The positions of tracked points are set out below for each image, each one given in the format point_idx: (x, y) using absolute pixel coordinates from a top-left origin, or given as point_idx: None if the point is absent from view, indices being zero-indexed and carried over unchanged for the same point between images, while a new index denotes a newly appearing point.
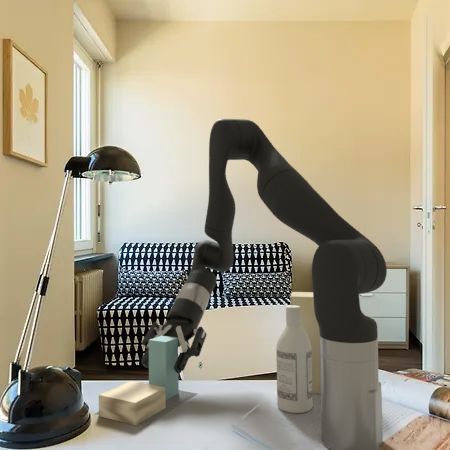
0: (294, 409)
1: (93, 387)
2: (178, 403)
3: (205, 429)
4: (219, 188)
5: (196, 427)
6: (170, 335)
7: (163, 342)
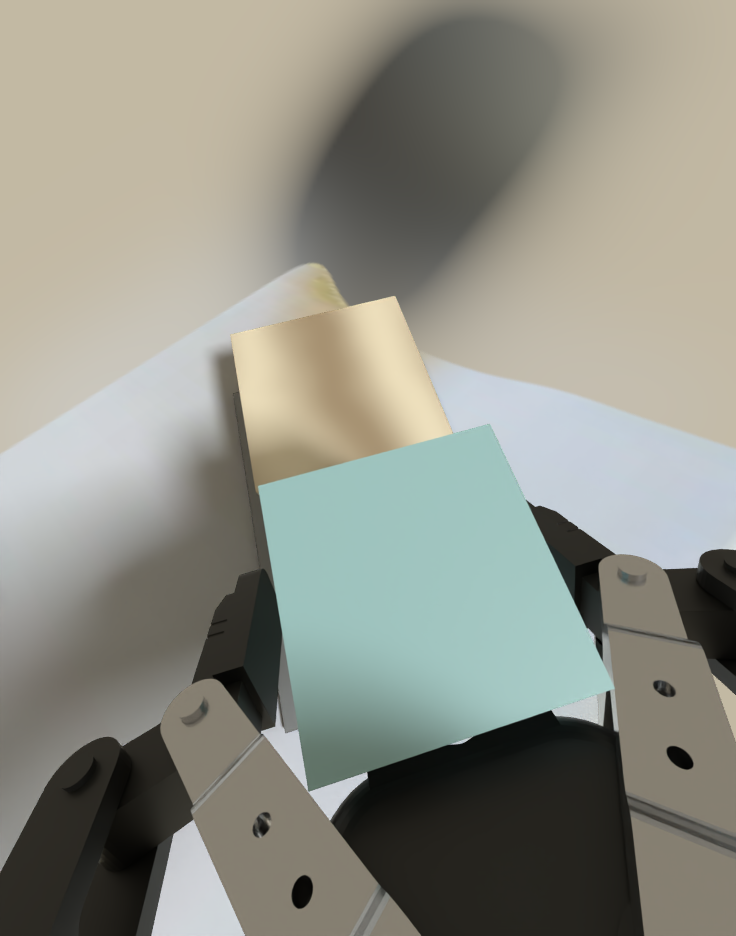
0: None
1: (688, 456)
2: (271, 577)
3: (65, 505)
4: None
5: (99, 496)
6: (538, 821)
7: (293, 481)
